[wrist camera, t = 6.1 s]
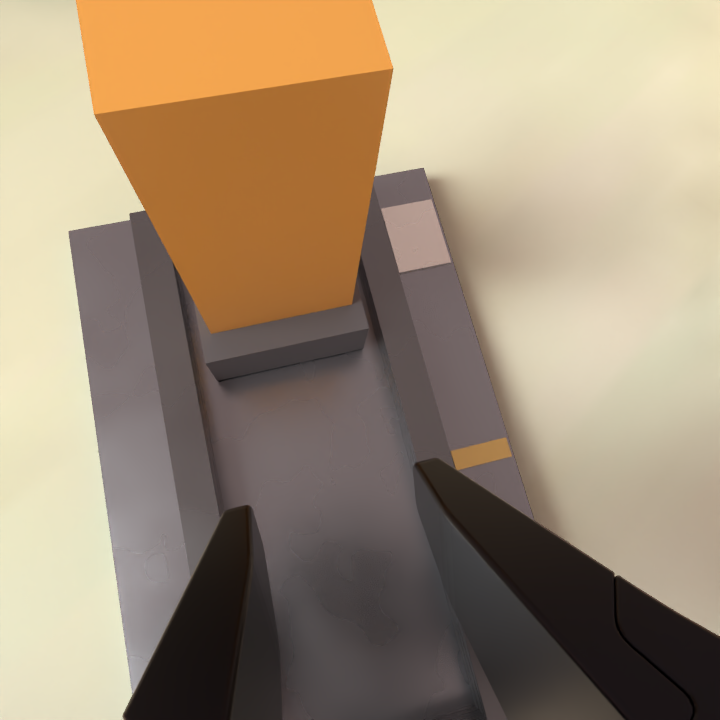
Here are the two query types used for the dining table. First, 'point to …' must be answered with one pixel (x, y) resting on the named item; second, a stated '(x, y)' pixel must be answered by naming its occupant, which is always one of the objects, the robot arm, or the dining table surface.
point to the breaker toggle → (249, 159)
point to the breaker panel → (301, 463)
